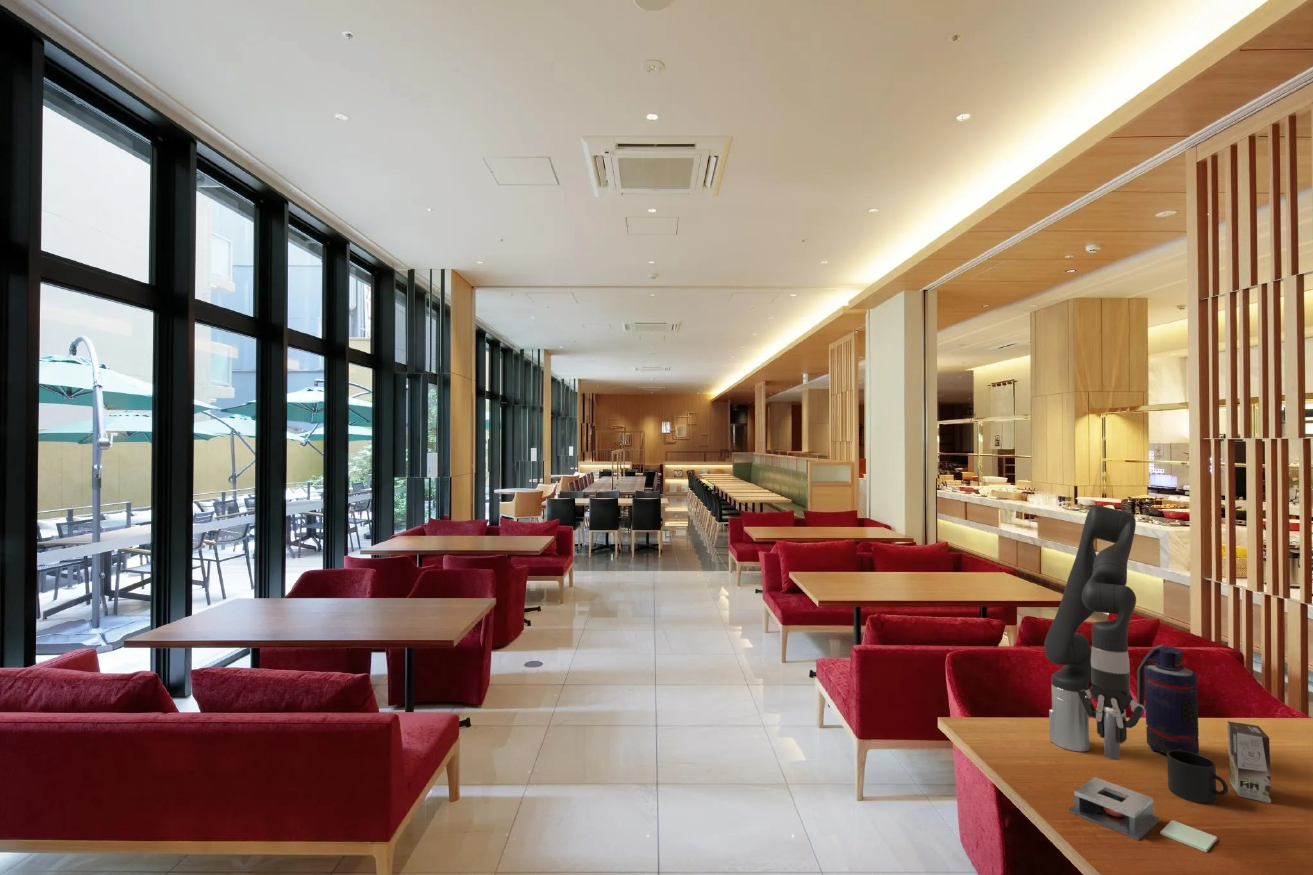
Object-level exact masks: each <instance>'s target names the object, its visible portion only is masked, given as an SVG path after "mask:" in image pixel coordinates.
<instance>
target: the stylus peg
mask: <svg viewBox="0 0 1313 875" xmlns="http://www.w3.org/2000/svg"><path fill="white" fill-rule="evenodd" d="M1103 710H1104V738H1103V745H1104V747H1103V749H1104V752H1103V753H1104V756H1105V758H1107V759H1110V760H1114V761H1119V760H1120V759H1121V751H1120V749H1121V748H1120V747H1121V745H1120V743H1117V727H1118V725H1117V721H1116V717H1115V715H1114V711H1113V708H1110V707H1107V706H1104V709H1103Z"/></svg>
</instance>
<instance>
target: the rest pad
mask: <svg viewBox="0 0 1313 875" xmlns="http://www.w3.org/2000/svg"><path fill="white" fill-rule="evenodd" d="M1160 835H1161V836H1164V837H1166V838H1169V839H1171V840H1174V841H1176V842H1179V843H1181V844H1185V845H1186V846H1188V847H1192V848H1195V849H1197V850H1199V851H1202V852H1204V853H1207V852H1208V851H1209V850H1210V849H1211V847H1213V845H1215V843H1216V842H1217V841H1218V837H1217V836H1216V835H1213V834H1210V833H1207V832H1206V831H1205V832H1204V831H1202V830H1200V829H1196V828H1194V827H1191V826H1189V825H1186V824H1184V823H1181V822H1178V821H1176V820H1170V822H1169V823H1168V824H1166V825H1165V826H1164V828H1162V830H1160Z"/></svg>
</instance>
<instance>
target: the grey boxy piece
mask: <svg viewBox="0 0 1313 875" xmlns="http://www.w3.org/2000/svg"><path fill="white" fill-rule="evenodd" d="M1103 806H1104V807H1106V808H1109V809H1111V810H1114V811H1116V812H1119V813H1121V814H1124V816H1123V817H1116V816H1112V815H1109V814H1107V813H1106V812H1105V811H1104V810H1103ZM1068 813H1071V814H1073V815H1076V816H1079V817H1081V818H1083V819H1086V820H1089V821H1090V822H1093V823H1095V824H1098V825H1101V826H1102V827H1105V828H1107V829H1110V830H1112V831H1115V832H1117V833H1120V834H1121V835H1124V836H1127V837H1130V838H1132V839H1135V840H1137V841H1140V840H1141V839H1142V838H1143V837H1144V836H1145V835H1146V834H1147V833H1148V832H1149V831H1150V830H1151V829H1152V828H1154V827H1155V826H1156V825H1157V824H1158V823H1159V822H1160V821H1161V817H1159V816H1156V815H1154V798H1153V797H1151V796H1149V795H1146V794H1143V793H1140V792H1138V791H1134V790H1133V789H1130V788H1126V787H1123V786H1121V785H1119V784H1115V783H1112V782H1109V781H1107V780H1104V779H1102V778H1099V777H1096V776H1094V777H1092V778H1091V779H1090V780H1088V781H1087V782H1085V783H1083V785H1081V786H1079V787H1078V788H1077V789H1075V790H1074V805H1072V806H1071V807H1070V808H1069V809H1068Z"/></svg>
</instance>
